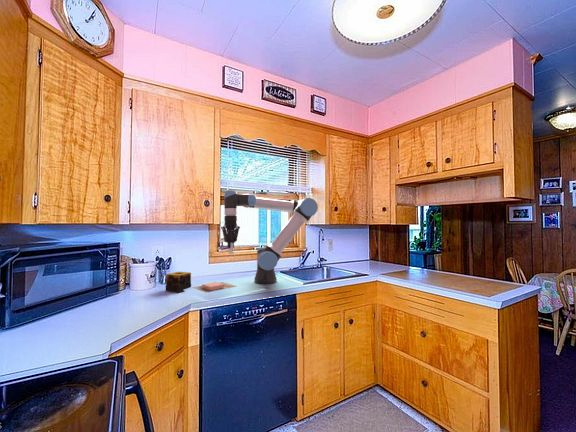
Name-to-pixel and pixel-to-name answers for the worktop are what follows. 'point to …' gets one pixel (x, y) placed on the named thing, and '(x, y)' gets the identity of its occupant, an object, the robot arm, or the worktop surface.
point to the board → (217, 289)
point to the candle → (178, 281)
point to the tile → (213, 286)
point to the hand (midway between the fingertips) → (230, 253)
